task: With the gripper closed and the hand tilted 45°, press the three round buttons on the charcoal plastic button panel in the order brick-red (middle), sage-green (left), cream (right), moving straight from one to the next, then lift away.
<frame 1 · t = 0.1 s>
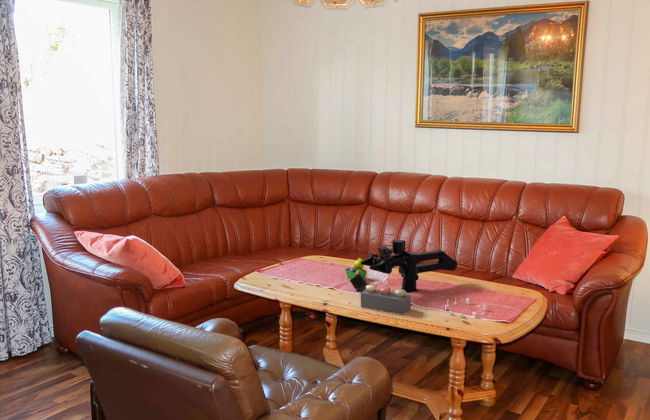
hand: (365, 265, 284), 17 cm above the table, tool horizontal, fingers open, 9 cm apart
red button: (385, 292, 271), point 8 cm above the table, slide at 0.0 cm
fruit basket: (356, 279, 317), on the table
handheld gaming console: (363, 289, 301), on the table
cream button: (371, 290, 275), point 8 cm above the table, slide at 0.0 cm
green button: (400, 295, 267), point 8 cm above the table, slide at 0.0 cm
button panel: (385, 308, 273), on the table
game piece set: (464, 311, 268), on the table
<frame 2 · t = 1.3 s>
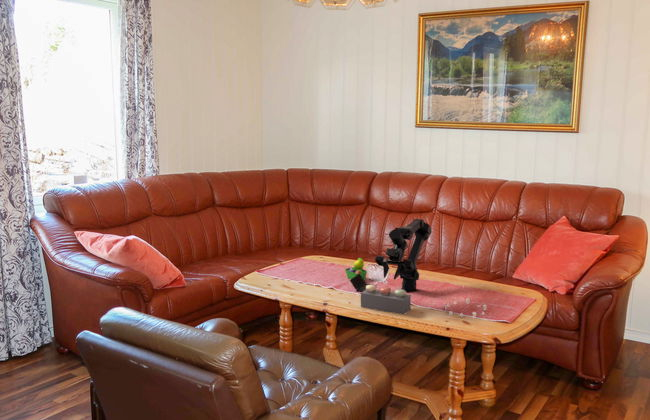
hand: (389, 278, 274), 13 cm above the table, tool tilted 45°, fingers open, 5 cm apart
nothing on the table moved.
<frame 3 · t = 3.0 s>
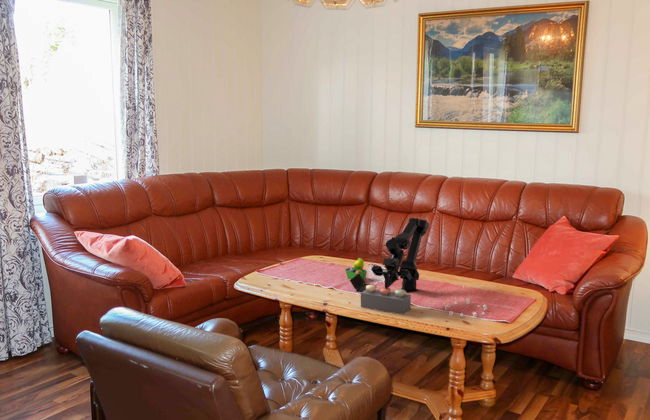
hand: (385, 288, 271), 10 cm above the table, tool tilted 45°, fingers closed, pressing on red button
red button: (385, 293, 271), point 7 cm above the table, slide at 0.3 cm, touching gripper
everything else where it was.
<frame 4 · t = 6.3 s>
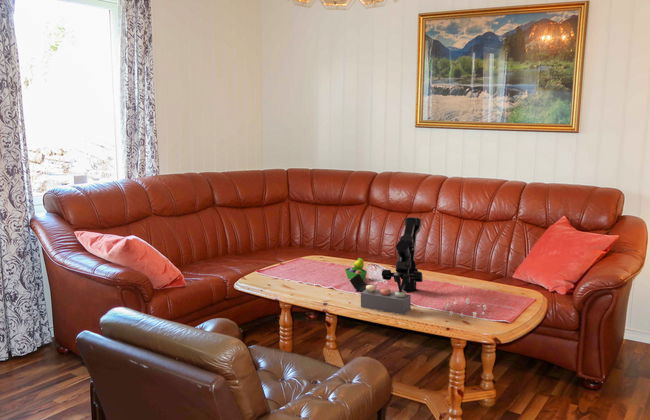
hand: (400, 292, 267), 9 cm above the table, tool tilted 45°, fingers closed, pressing on green button
red button: (385, 294, 271), point 7 cm above the table, slide at 0.8 cm
green button: (400, 296, 267), point 7 cm above the table, slide at 0.7 cm, touching gripper
everything else where it was.
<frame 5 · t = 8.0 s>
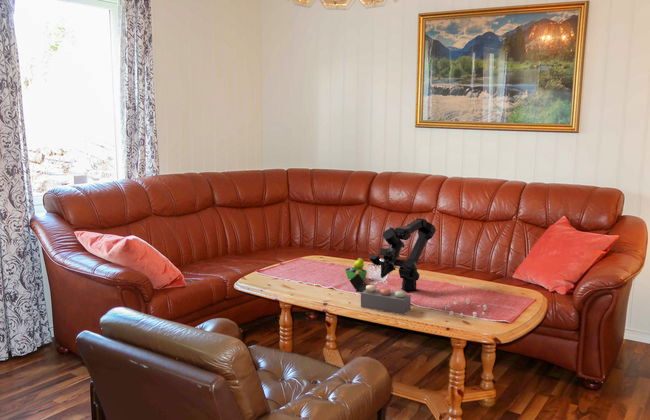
hand: (381, 277, 275), 13 cm above the table, tool tilted 45°, fingers closed
green button: (400, 296, 267), point 7 cm above the table, slide at 0.8 cm
everything else where it was.
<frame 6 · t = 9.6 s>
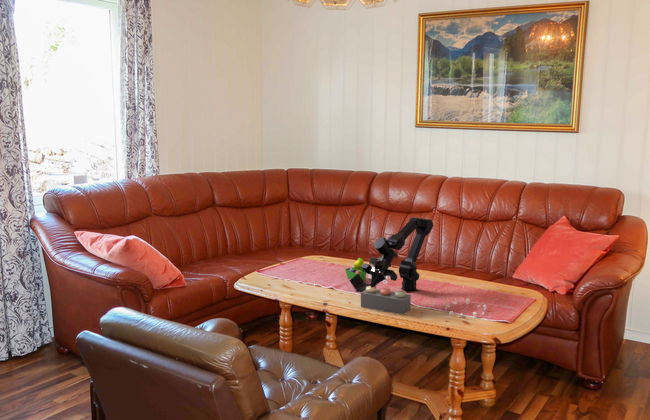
hand: (371, 286, 275), 9 cm above the table, tool tilted 45°, fingers closed, pressing on cream button
cream button: (371, 291, 275), point 7 cm above the table, slide at 0.7 cm, touching gripper
everything else where it was.
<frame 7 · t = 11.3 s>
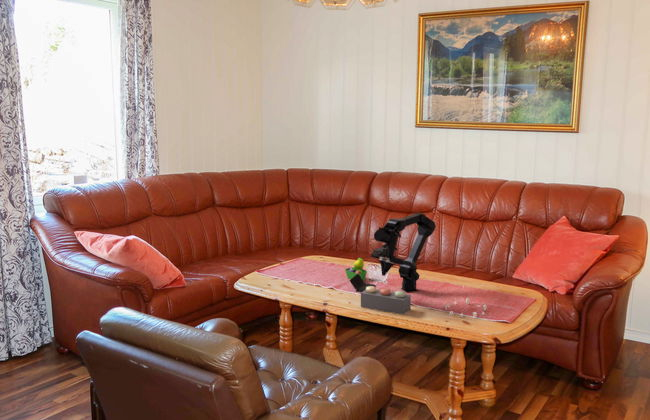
hand: (383, 275, 282), 12 cm above the table, tool tilted 20°, fingers closed
cream button: (371, 291, 275), point 7 cm above the table, slide at 0.8 cm
everything else where it was.
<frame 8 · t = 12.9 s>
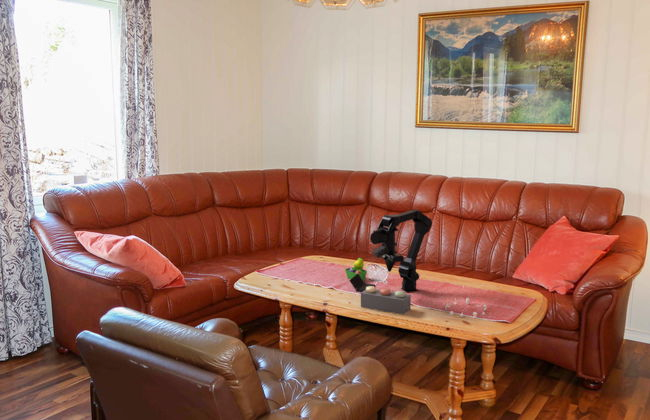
hand: (389, 271, 286), 13 cm above the table, tool pointing down, fingers closed
nothing on the table moved.
at the end: red button slide at 0.8 cm; green button slide at 0.8 cm; cream button slide at 0.8 cm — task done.
